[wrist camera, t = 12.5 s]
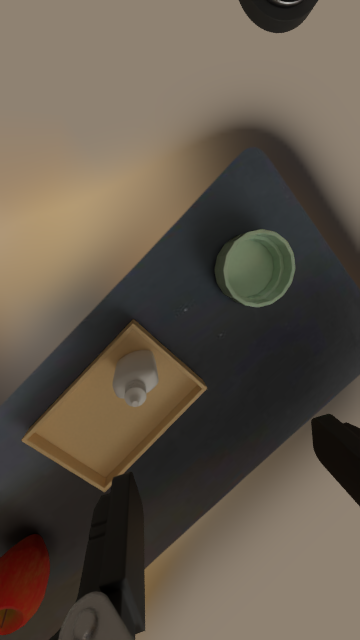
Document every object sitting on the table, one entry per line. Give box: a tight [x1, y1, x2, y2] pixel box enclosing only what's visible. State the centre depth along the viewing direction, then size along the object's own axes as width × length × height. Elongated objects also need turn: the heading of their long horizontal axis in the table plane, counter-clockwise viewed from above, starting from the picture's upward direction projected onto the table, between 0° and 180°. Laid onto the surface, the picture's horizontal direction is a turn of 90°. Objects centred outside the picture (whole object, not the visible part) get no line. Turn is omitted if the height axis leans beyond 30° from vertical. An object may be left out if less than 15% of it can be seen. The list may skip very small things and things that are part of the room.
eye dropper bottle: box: [112, 350, 159, 407], centre depth 32 cm, size 4×6×12 cm
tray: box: [21, 319, 207, 492], centre depth 39 cm, size 23×15×3 cm, turn 136°
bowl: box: [215, 229, 295, 307], centre depth 36 cm, size 10×10×4 cm
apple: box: [0, 534, 50, 635], centre depth 37 cm, size 9×8×11 cm
